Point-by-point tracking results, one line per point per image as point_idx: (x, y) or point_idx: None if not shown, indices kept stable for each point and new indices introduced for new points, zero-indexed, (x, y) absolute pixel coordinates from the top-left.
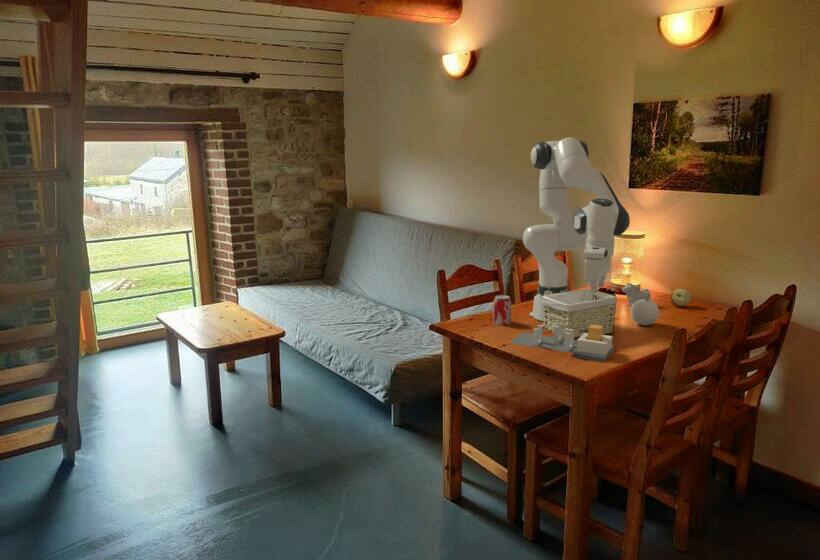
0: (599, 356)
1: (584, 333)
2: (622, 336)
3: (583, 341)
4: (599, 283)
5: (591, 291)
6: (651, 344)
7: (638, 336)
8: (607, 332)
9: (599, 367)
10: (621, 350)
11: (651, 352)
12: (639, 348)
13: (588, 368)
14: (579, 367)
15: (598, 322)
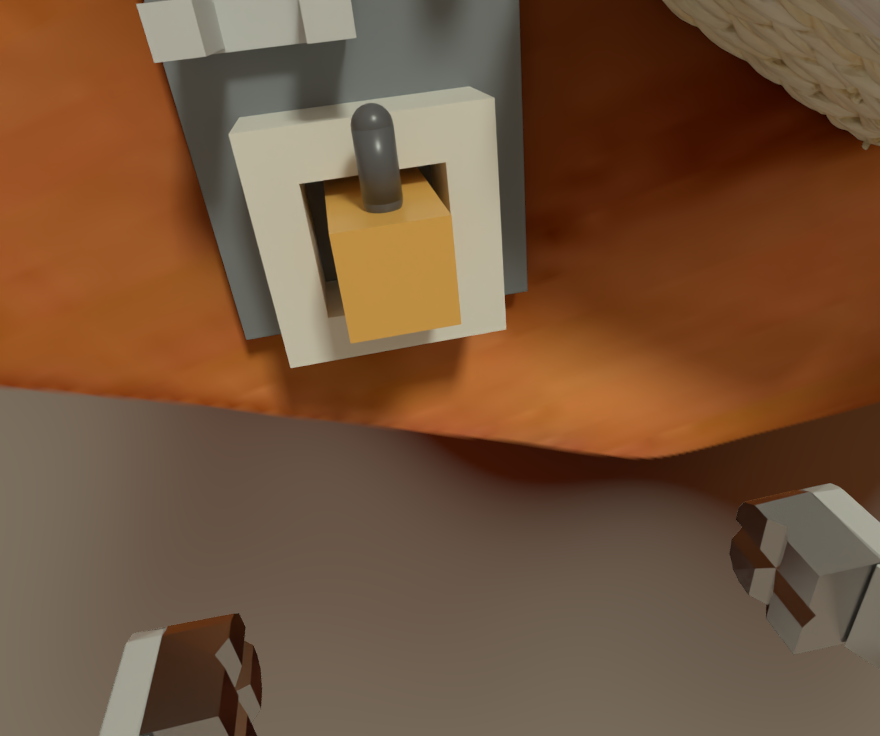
0: (244, 305)
1: (459, 112)
2: (812, 222)
3: (245, 192)
4: (785, 576)
5: (125, 663)
6: (706, 401)
7: (835, 299)
8: (835, 125)
9: (129, 341)
10: (528, 320)
11: (571, 446)
12: (611, 381)
13: (50, 296)
14: (12, 240)
15: (849, 86)
